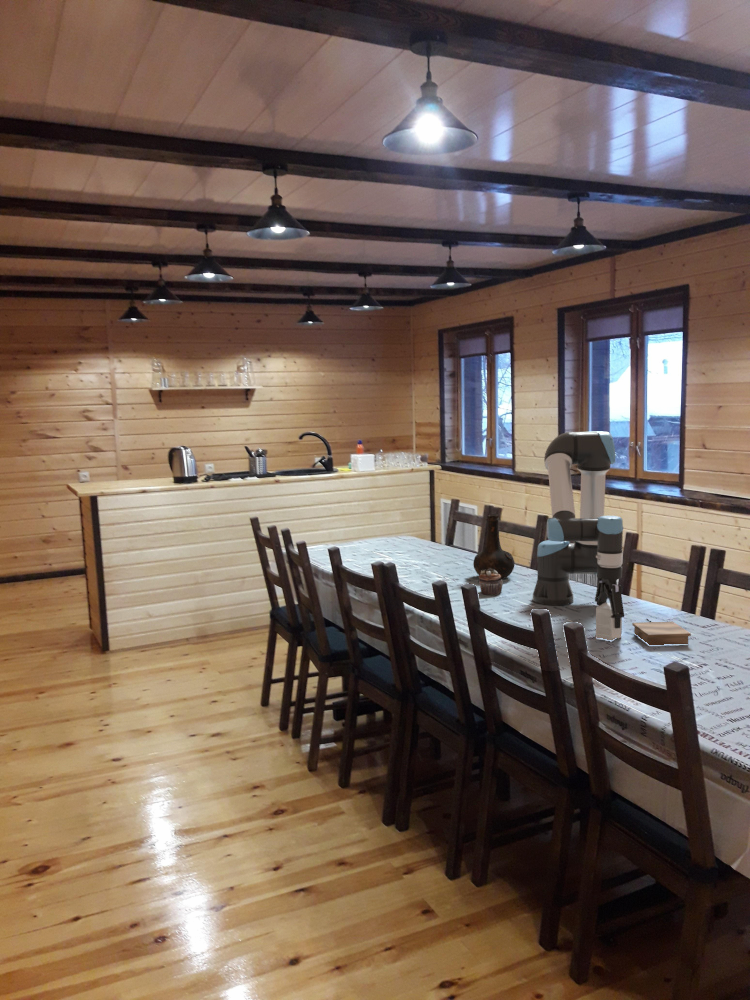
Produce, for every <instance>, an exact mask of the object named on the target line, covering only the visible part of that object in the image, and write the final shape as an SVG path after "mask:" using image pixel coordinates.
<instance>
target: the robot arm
mask: <svg viewBox="0 0 750 1000" xmlns="http://www.w3.org/2000/svg"><path fill="white" fill-rule="evenodd" d="M615 463H616V447H615V442H614V438H613V436H612V434H611V433H610V432H608V431H598V430H597V431H574V432H573V431H567V432H564V433H561V434H559V435H557V436H556V437H554V439H553V440H552V441H551V442H550V443H549V444H548V446H547V448H546V451H545V452H544V467H545V469H546V470H547V472H548V480H549V481H548V482H549V483H548V485H549V496H550V507H551V518H548V519H547V520H546V521H547V522H546V537H547V540H544V541H541V542H540V543H539V544H538V545H537V553H536V557H537V579H536V584H535V587H534V589H533V593H532V601H533V602H534V603H538V604H540V605H548V606H564V605H563V604H566V605H569V604H568V603H570V604H572V603H574V594H573V590H572V588H571V584H570V580H569V579H570V578H569V576H570V575H596V577H597V578H598V580H597V581H598V582H597V586H596V592H595V596H594V601H595V602H596V605H597V607H598V606H600V605H602V604H604V603H605V602H607V600H608V599H609V603H610V605H611V610H612V614H613V615H612V616H611V618H612V629H611V638H618V639H621V638H622V636H621V618H622V619H623V618H625V611H624V605H623V597H622V586H621V584H617V583H618V582H617V581H618V580H620V579H622V578H623V566H622V565H623V560H624V559H623V556H624V555H623V537H624V536H623V533H624V526H623V525H624V524H623V518H622V517H621V516H617V515H605V500H606V497H605V496H606V474H607V473H608V472H609V471H610V470H611V465H613V464H615ZM572 465H576V469H577V471H579V472H580V474H581V475H580V499H579V501H580V503H579V504H580V505H579V506H580V507H579V508H580V509H579V511H580V512H579V518H578V517H577V518H576V510H575V502H574V492H573V485H572V484H573V481H572V475H571V468H572ZM571 542H572V543H571ZM571 602H572V603H571ZM607 603H608V602H607ZM597 607H596V608H597Z"/></svg>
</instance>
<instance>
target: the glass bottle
mask: <svg viewBox="0 0 750 1000" xmlns="http://www.w3.org/2000/svg"><path fill="white" fill-rule="evenodd" d="M485 521H487V532H486V533H487V534H486V540H485V541H486V542H485V545H484V549H482V550H481V551H479V552H478V553H477V554H476V555H475V556H474V559H473V565H472V566H473V569H474V570H475V572H476V574H477V575H478V576H479V575H480V574H481V571H482V569H489V568H492V570H493V569H495V571H497V572H498V574H500V575H501V578H500V579H501V580H504V579H506V578H509V576H510V575H512V573H513V571H514V568H515V565H516V564H515V558H514V557H513V555H512V554H511V553H510V552H509V551H506V550H503V548H502V547H501V541H500V532H499V531H500V530H499V521H501V518H499V514H495V513H494V514H493V513H492V514H487V518H485Z"/></svg>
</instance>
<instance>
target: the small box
mask: <svg viewBox="0 0 750 1000" xmlns="http://www.w3.org/2000/svg"><path fill="white" fill-rule="evenodd" d="M597 606H598V605H597ZM612 615H613V614H612V610H611V605H610V602H605V603H604V604H602V605H600V606H598V607H595V638H596V637H597V638H603V639H607V640H613V639H615V638H611V629H612V618H611V616H612ZM622 628H623V617H622V618H621V634H622V632H623V631H622V630H623V629H622Z"/></svg>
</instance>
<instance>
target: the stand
mask: <svg viewBox="0 0 750 1000" xmlns="http://www.w3.org/2000/svg"><path fill="white" fill-rule="evenodd" d="M631 625H632V626H633V627H634V630H633V631H634V633H635V634H636V635H638V636H639V637H640V638H641V639H643V640H644V641H645V642H647V643H648V644H649V645H664V644H688V645H689V637H692V633H691V632H689V631H688V630H686V629H685V628H683V627H682V626H680V625H679V624H677V623H675V622H674V621H668V622H649V621H646V622H644V621H642V622H632V624H631Z"/></svg>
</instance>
